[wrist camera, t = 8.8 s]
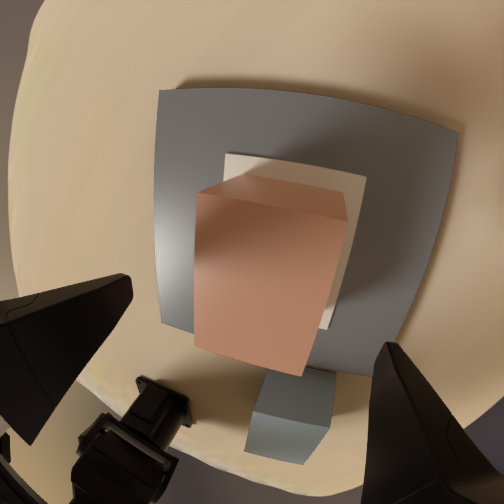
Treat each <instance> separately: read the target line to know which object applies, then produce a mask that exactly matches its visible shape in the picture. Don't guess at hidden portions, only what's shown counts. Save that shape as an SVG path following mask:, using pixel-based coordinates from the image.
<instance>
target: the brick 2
mask: <svg viewBox="0 0 504 504" xmlns="http://www.w3.org/2000/svg"><path fill="white" fill-rule="evenodd" d="M335 380H336V373H332V372H326V371H321V370H317V369H312V368H307V367H305V368H304V371H303V374H302V376H296V375H292V374H288V373H284V372H280V371H276V370H272V369H268V371H267V374H266V377H265V380H264V383H263V385H262V388H261V391H260V394H259V396H258V399H257V402H256V404H255V407H254V410H253V413H252V418H251V423H250V427H249V432H248V436H247V441H246V445H245V449H244V451H245V452H248V453H252V454H256V455H260V456H264V457H268V458H272V459H276V460H281V461H285V462H290V463H296V464H301V465H303V464H304V463H305V462H306V460H307V459H308V458H309V456H310V455H311V454H312V452H313V451H314V450H315V448H316V447H317V446H318V444H319V443H320V441H321V440H322V439H323V437H324V436H325V434H326V433H327V431H328V430H329V429H330V424H331V417H332V408H333V400H334V390H335Z"/></svg>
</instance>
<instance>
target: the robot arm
mask: <svg viewBox="0 0 504 504" xmlns="http://www.w3.org/2000/svg"><path fill="white" fill-rule="evenodd" d="M132 299H133V288H132V281H131V278H130V276H128V275H125V274H122V273H119V274H115V275H111V276H106V277H102V278H98V279H94V280H90V281H86V282H81V283H77V284H73V285H69V286H65V287H61V288H57V289H53V290H49V291H45V292H41V293H37V294H33V295H28V296H24V297H20V298H15V299H10V300H4V301H0V504H48V503H47V502H45V501H44V500H43V499H42V498H41V497H40V496H39V495H38V494H37V493H36V492H35V491H34V490H33V489H32V488H31V487H30V486H29V485H28V484H27V483H26V482H25V481H24V480H23V479H22V478H21V477H20V476H19V475H18V474H17V473H16V471H14V469H13V468H12V467H11V466H10V465H9V463H10V462H11V456H10V436H9V435H8V434H7V432H6V431H7V430H8V429H9V427H11V428H12V429H13V430H14V431H15V432H16V433H17V434H18V435H19V436H20V437H21V438H22V439H23V440H24V441H25V442H26V443H27V444H28V445H29V446H31V445H32V443H33V442H34V440H35V439H36V437H37V436H38V434H39V432H40V431H41V429H42V428H43V426H44V425H45V423H46V422H47V420H48V419H49V417H50V416H51V414H52V413H53V411H54V410H55V407H57V405H58V404H59V402H60V401H61V399H62V398H63V396H64V395H65V394H66V392H67V391H68V389H69V388H70V387H71V385H72V384H73V382H74V381H75V380H76V378H77V377H78V375H79V374H80V373H81V371H82V370H83V369H84V367H85V366H86V365H87V363H88V362H89V361H90V359H91V358H92V357H93V355H94V354H95V353H96V351H97V350H98V349H99V347H100V346H101V345H102V344H103V342H104V341H105V340H106V338H107V337H108V336H109V335H110V333H111V332H112V331H113V329H114V328H115V326H116V325H117V323H118V321H119V320H120V318H121V317H122V315H123V314H124V312H125V311H126V309H127V307H128V306H129V304H130V303H131V301H132ZM136 384H137V387H138V390H139V393H140V394H139V396H138V397H137V398H136V400H135V401H134V402H133V404H132V405H131V406H130V408H129V409H128V411H127V412H126V413H125V415H124V416H123V417H122V419H121V420H120V422H119V421H118V420H117V419H115V418H114V417H113V416H112V415H111V414H110V413H109V412H108V413H107V414H104V413H101V415H100V416H99V417H98V418H97V420H96V421H95V422H94V423H93V424H92V425H91V426H90V427H89V428H88V429H86V430H85V431H84V432H83V433H82V434H81V435H80V436H79V437H78V442H79V445H78V449H77V451H76V454H77V455H79V456H80V458H79V459H78V460H77V462H76V463H75V465H74V466H73V467H72V471H71V482H72V488H73V499H72V500H71V502H70V503H69V504H149V503H150V502H151V503H152V504H154V503H156V502H157V501H158V500H159V499H160V497H161V496H162V494H163V493H164V491H165V490H166V488H167V486H168V484H169V481H170V479H171V477H172V475H173V472H174V470H175V468H176V466H177V463H178V461H179V459H178V458H177V457H173V456H171V455H170V454H168V453H166V450H167V448H168V446H169V445H170V443H171V442H172V440H173V438H174V436H175V435H176V433H177V431H178V430H179V428H180V426H181V425H183V426H185V427H188V428H191V426H192V420H191V413H190V405H189V400H188V399H187V398H186V397H184V396H182V395H179V394H177V393H174V392H172V391H169V390H167V389H165V388H162V387H160V386H158V385H156V384H153V383H151V382H149V381H147V380H145V379H142V378H140V377H137V379H136ZM106 430H108V431H107V432H106ZM361 504H504V475H503V474H502V473H500V472H499V471H498V470H496V469H495V468H494V466H493V465H492V464H491V463H490V461H489V460H488V459H487V458H486V457H485V456H484V454H483V453H482V452H481V451H480V450H479V448H478V447H477V446H476V445H475V443H474V442H473V441H472V440H471V438H470V437H469V436H468V435H467V433H466V432H465V431H464V429H463V428H462V427H461V425H460V424H459V423H458V421H457V420H456V419H455V417H454V416H453V415H452V413H451V412H450V410H449V409H448V408H447V406H446V405H445V404H444V402H443V401H442V399H441V398H440V397H439V395H438V394H437V393H436V392H435V390H434V389H433V388H432V386H431V385H430V384H429V382H428V381H427V380H426V378H425V377H424V376H423V375H422V373H421V372H420V371H419V369H418V368H417V367H416V366H415V364H414V363H413V362H412V361H411V359H410V358H409V357H408V356H407V354H406V353H405V352H404V351H403V349H402V348H401V347H400V346H399V345H398V344H397V343H395V342H389V341H386V342H385V343H384V344H383V346H382V348H381V350H380V352H379V354H378V356H377V358H376V360H375V362H374V368H373V378H372V387H371V395H370V403H369V422H368V441H367V454H366V465H365V475H364V483H363V491H362V498H361Z"/></svg>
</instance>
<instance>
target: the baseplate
mask: <svg viewBox="0 0 504 504" xmlns="http://www.w3.org/2000/svg"><path fill="white" fill-rule="evenodd" d="M457 141H458V133H457V132H455V131H452V130H450V129H447V128H444V127H442V126H439V125H436V124H433V123H430V122H428V121H425V120H422V119H418V118H415V117H412V116H409V115H406V114H402V113H399V112H395V111H391V110H388V109H384V108H380V107H376V106H372V105H367V104H363V103H358V102H354V101H349V100H344V99H338V98H332V97H326V96H320V95H313V94H306V93H298V92H289V91H279V90H266V89H249V88H189V89H172V90H159V100H158V111H157V124H156V140H155V164H154V228H155V253H156V269H157V283H158V295H159V305H160V315H161V323H164V324H167V325H169V326H172V327H175V328H178V329H181V330H184V331H187V332H190V333H193V334H194V248H195V219H196V199H197V192H199V191H202V190H204V189H206V188H209V187H211V186H214V185H216V184H219V183H221V182H223V181H226V180H228V179H231V178H233V177H236V176H239V175H241V174H247V175H254V176H260V177H266V178H272V179H278V180H283V181H289V182H294V183H300V184H305V185H310V186H315V187H320V188H324V189H329V190H334V191H338V192H343V194H344V200H345V205H346V211H347V217H348V225H347V229H346V234H345V238H344V242H343V246H342V250H341V253H340V257H339V261H338V265H337V268H336V272H335V276H334V279H333V283H332V286H331V290H330V293H329V296H328V300H327V303H326V306H325V309H324V313H323V316H322V319H321V322H320V325H319V328H318V331H317V334H316V337H315V340H314V343H313V346H312V349H311V352H310V354H309V357H308V360H307V363H306V365H310V366H314V367H319V368H324V369H329V370H335V371H340V372H345V373H351V374H357V375H363V376H370V377H373V368H374V362H375V360H376V358H377V356H378V354H379V352H380V350H381V348H382V346H383V344H384V343H385V342H386V341H389V342H394V340H395V339H396V337H397V334H398V332H399V330H400V328H401V326H402V324H403V322H404V320H405V318H406V315H407V313H408V311H409V309H410V307H411V304H412V302H413V300H414V297H415V295H416V292H417V290H418V287H419V285H420V282H421V280H422V277H423V274H424V272H425V269H426V266H427V264H428V261H429V258H430V255H431V252H432V249H433V246H434V243H435V239H436V236H437V233H438V230H439V226H440V223H441V219H442V215H443V212H444V208H445V204H446V200H447V195H448V191H449V186H450V182H451V177H452V172H453V166H454V160H455V154H456V148H457Z"/></svg>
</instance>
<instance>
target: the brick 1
mask: <svg viewBox="0 0 504 504" xmlns="http://www.w3.org/2000/svg"><path fill="white" fill-rule="evenodd" d="M347 225H348V217H347V211H346V205H345V200H344V194H343V192H338V191H334V190H329V189H324V188H320V187H315V186H310V185H305V184H300V183H294V182H289V181H283V180H278V179H272V178H266V177H260V176H254V175H247V174H241V175H239V176H236V177H233V178H231V179H228V180H226V181H223V182H221V183H219V184H216V185H214V186H211V187H209V188H206V189H204V190H202V191H199V192H197V199H196V219H195V248H194V346H196V347H199V348H202V349H205V350H208V351H211V352H214V353H217V354H220V355H224V356H227V357H230V358H233V359H237V360H240V361H243V362H247V363H250V364H254V365H257V366H261V367H265V368H268V369H272V370H276V371H280V372H284V373H288V374H292V375H296V376H302V374H303V371H304V368H305V365H306V363H307V360H308V357H309V354H310V352H311V349H312V346H313V343H314V340H315V337H316V334H317V331H318V328H319V325H320V322H321V319H322V316H323V313H324V309H325V306H326V303H327V300H328V296H329V293H330V290H331V286H332V283H333V279H334V276H335V272H336V268H337V265H338V261H339V257H340V253H341V250H342V246H343V242H344V238H345V234H346V229H347Z"/></svg>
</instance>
